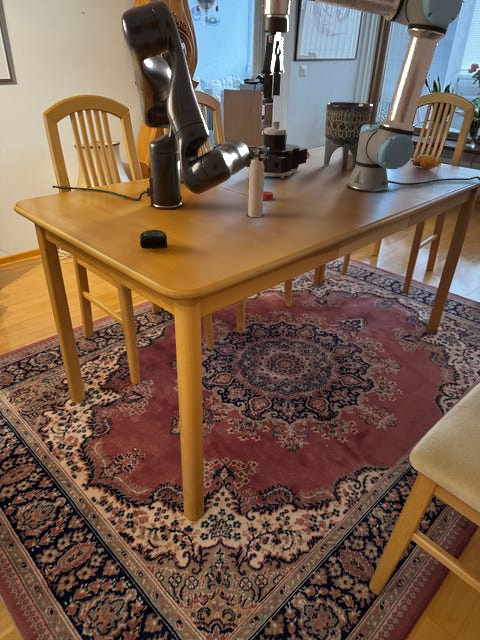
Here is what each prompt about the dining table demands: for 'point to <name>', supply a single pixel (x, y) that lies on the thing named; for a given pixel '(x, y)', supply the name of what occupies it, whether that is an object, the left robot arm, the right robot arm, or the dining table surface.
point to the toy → (425, 162)
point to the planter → (344, 129)
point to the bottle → (256, 188)
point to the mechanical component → (281, 153)
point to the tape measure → (153, 239)
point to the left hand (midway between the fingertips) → (248, 147)
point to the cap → (267, 196)
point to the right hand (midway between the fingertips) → (272, 97)
